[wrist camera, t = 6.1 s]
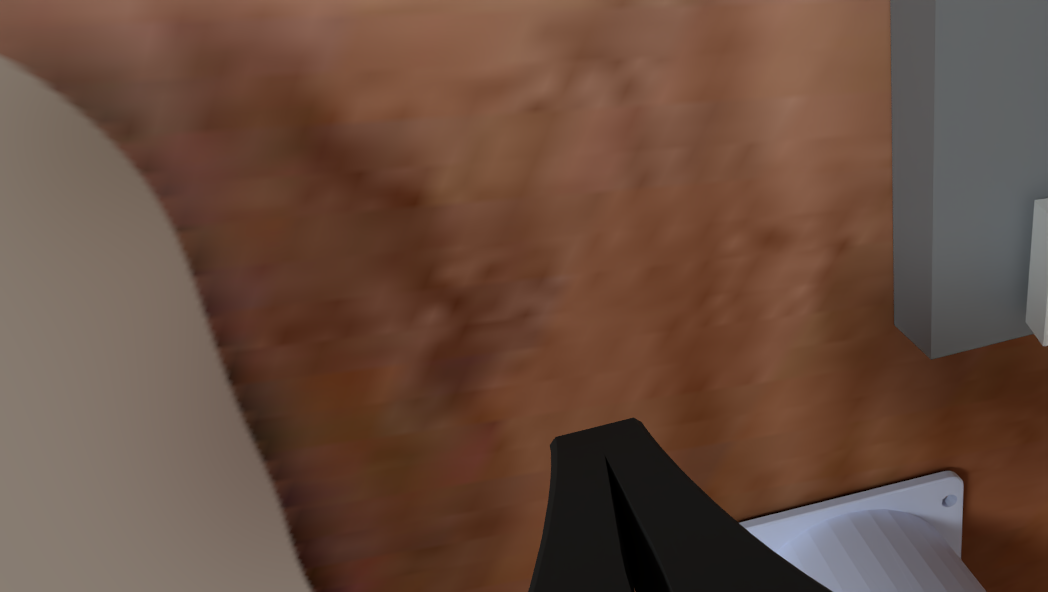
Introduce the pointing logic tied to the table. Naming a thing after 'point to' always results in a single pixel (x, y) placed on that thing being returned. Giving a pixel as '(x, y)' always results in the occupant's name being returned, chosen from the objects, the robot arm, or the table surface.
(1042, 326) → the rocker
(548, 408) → the table surface
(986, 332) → the panel
